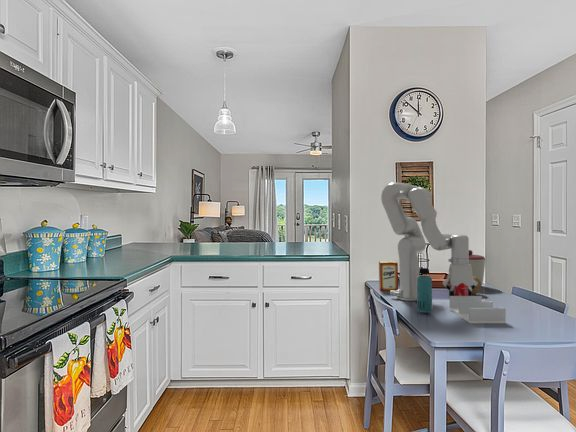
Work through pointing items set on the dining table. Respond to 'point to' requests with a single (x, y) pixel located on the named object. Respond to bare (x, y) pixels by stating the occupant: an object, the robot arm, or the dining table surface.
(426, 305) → the beverage bottle
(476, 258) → the canister
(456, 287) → the soda can
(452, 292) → the robot arm
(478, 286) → the natural sponge
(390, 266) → the baking soda box
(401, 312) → the dining table surface
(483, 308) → the white holder
